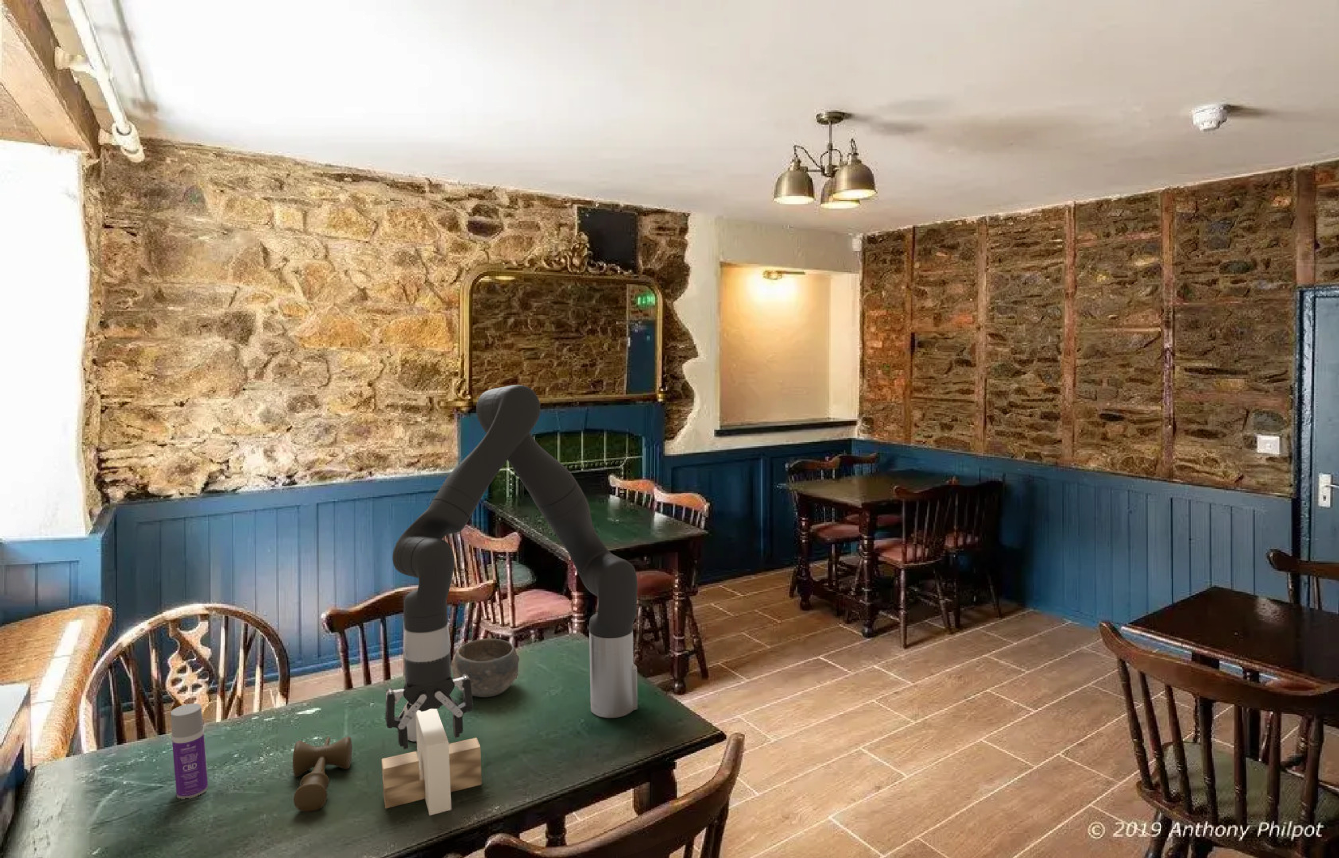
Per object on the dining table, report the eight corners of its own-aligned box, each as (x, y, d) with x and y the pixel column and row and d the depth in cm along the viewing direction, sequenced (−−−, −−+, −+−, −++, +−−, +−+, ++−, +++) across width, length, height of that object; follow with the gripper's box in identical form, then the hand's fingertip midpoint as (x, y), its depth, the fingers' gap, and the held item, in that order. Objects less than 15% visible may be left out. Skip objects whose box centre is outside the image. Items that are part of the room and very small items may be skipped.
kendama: (278, 821, 124) (301, 755, 143) (341, 812, 126) (356, 749, 146) (276, 787, 123) (300, 725, 142) (340, 779, 126) (355, 719, 145)
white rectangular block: (418, 772, 137) (415, 709, 135) (438, 768, 138) (435, 705, 137) (429, 815, 124) (426, 746, 123) (451, 809, 126) (448, 741, 124)
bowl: (467, 676, 177) (466, 635, 176) (530, 679, 175) (529, 638, 174) (441, 703, 163) (440, 659, 162) (510, 708, 161) (508, 663, 160)
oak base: (477, 774, 136) (476, 737, 135) (481, 784, 133) (480, 746, 132) (383, 797, 129) (381, 758, 128) (385, 808, 126) (383, 768, 125)
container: (184, 802, 128) (178, 718, 127) (171, 793, 131) (164, 711, 129) (213, 788, 132) (207, 707, 131) (199, 780, 135) (193, 700, 133)
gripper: (465, 636, 135) (468, 722, 136) (380, 650, 129) (385, 740, 130) (473, 651, 128) (477, 741, 130) (384, 667, 122) (389, 761, 124)
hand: (431, 741), depth 130 cm, fingers open, 8 cm apart
